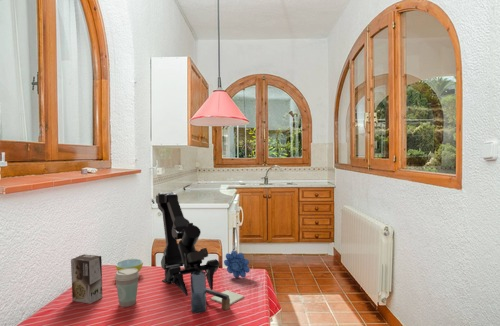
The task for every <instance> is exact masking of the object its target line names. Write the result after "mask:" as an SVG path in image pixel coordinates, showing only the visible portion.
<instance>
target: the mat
mask: <svg viewBox="0 0 500 326" xmlns="http://www.w3.org/2000/svg"><path fill="white" fill-rule="evenodd" d="M221 293H223V294H226V295H229V298H230V306H231V305H233V304H234V303H236V302H239V301H240V300H242V299H244V298H245V296H244V295H242V294H239V293H236V292H233V291H231V290H227V289H226V290H224V291H222V292H221ZM222 299H223V298H220V297H217V296H214V295H213V296H212V297H210V301H214V302H217V303H220V304H222Z"/></svg>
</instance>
